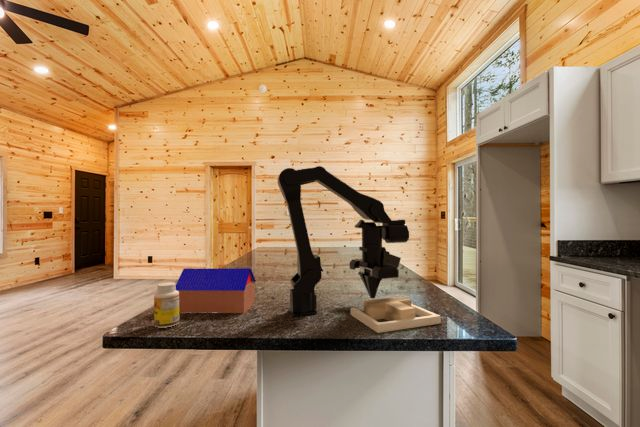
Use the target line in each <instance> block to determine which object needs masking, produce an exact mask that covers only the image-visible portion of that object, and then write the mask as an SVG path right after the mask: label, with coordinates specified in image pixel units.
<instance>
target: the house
mask: <svg viewBox="0 0 640 427" xmlns="http://www.w3.org/2000/svg"><path fill="white" fill-rule="evenodd" d="M256 282H257V281H256V279H255V276H254V273H253V271H252V269H251V268H183V269H182V271H181V273H180V276H179V277H178V280H177V282H176V283H175V285H176V289H175V290H177V291H179V312H222V313H244V314H246V313H247V312H248V310H250V309H251V307H252V306H253V305H254V304H255V303H256V292H255V291H256V289H255V286H256ZM254 302H255V303H254ZM253 303H254V304H253ZM252 304H253V305H252Z"/></svg>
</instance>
